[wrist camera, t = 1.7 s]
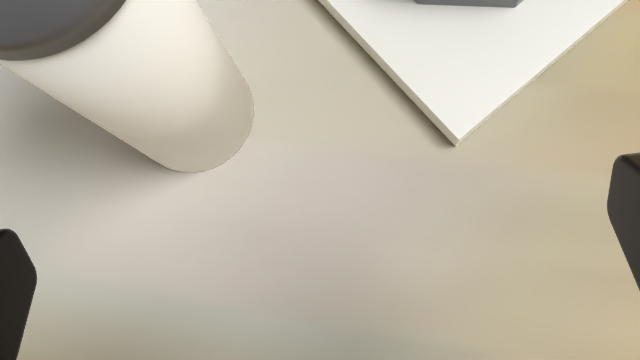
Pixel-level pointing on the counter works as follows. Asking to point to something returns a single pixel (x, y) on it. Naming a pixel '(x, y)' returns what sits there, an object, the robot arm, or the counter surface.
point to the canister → (135, 73)
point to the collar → (467, 48)
